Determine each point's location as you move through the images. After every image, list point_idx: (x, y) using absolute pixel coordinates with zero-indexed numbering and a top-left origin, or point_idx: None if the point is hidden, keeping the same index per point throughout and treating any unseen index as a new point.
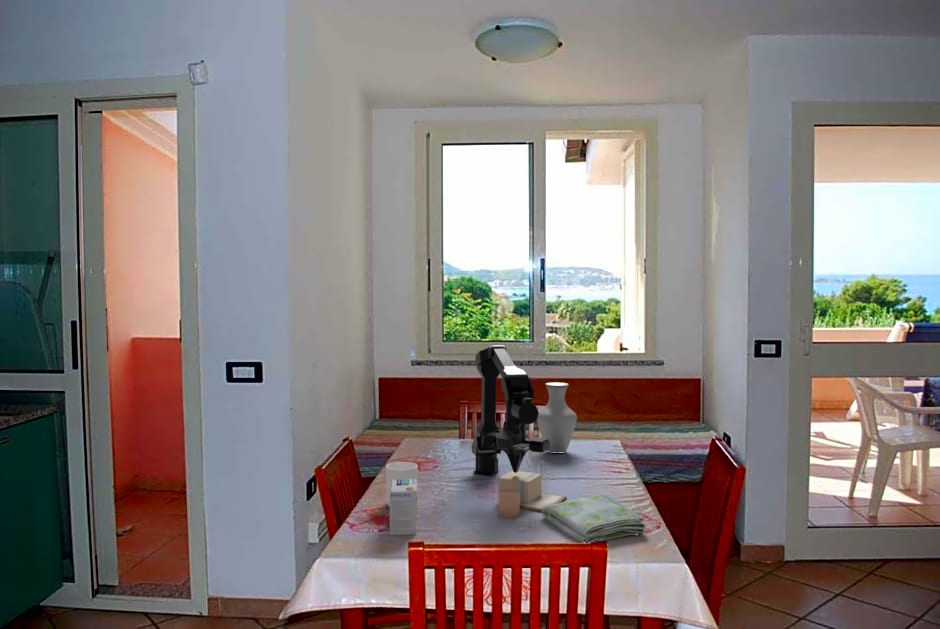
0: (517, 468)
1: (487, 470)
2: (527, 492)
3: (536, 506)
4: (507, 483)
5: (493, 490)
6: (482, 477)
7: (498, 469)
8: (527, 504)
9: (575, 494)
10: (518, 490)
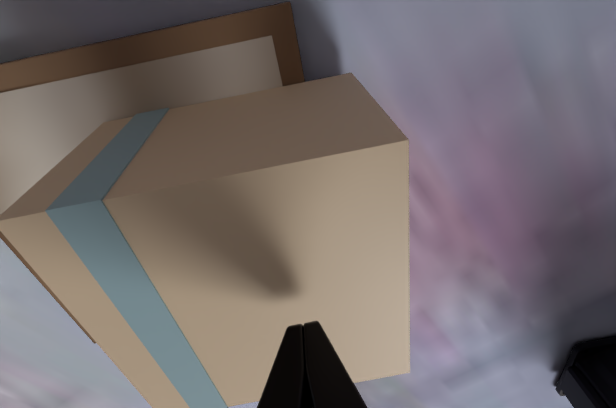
0: (274, 376)
1: (607, 363)
2: (68, 160)
3: (21, 119)
4: (280, 141)
5: (484, 217)
6: (605, 314)
7: (562, 394)
8: (104, 113)
9: (127, 382)
10: (159, 143)
